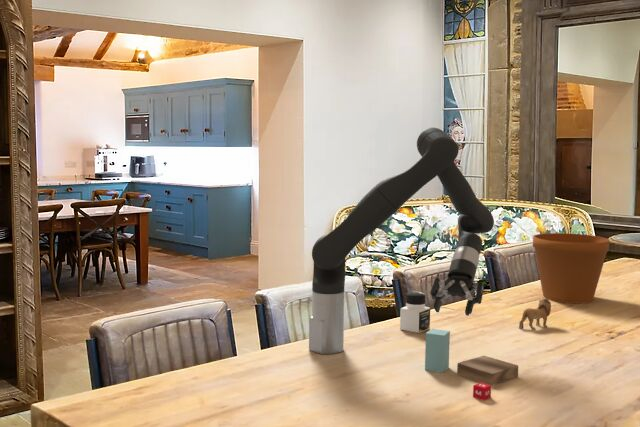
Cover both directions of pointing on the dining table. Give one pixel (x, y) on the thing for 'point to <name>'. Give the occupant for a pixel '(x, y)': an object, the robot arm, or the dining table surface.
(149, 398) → the dining table surface
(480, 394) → the dice
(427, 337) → the teal pillar block
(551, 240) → the flowerpot
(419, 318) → the medicine bottle
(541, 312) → the lion figurine
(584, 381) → the dining table surface
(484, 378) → the walnut base plate
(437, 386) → the dining table surface
